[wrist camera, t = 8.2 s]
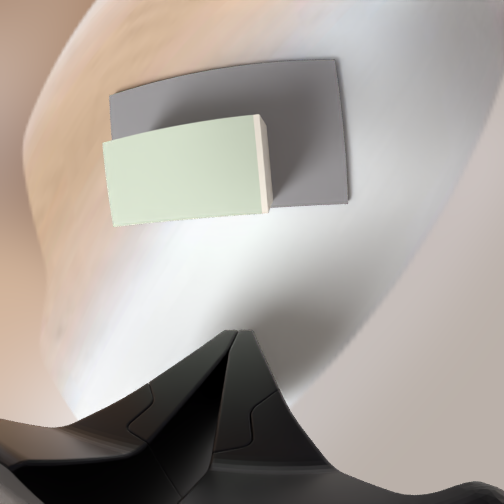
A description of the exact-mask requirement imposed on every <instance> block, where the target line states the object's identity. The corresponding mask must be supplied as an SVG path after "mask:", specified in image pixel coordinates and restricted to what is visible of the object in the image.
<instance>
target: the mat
mask: <svg viewBox="0 0 504 504" xmlns="http://www.w3.org/2000/svg"><path fill="white" fill-rule="evenodd" d="M109 101H110V120H111V135H112V140H116V139H119V138H123V137H127V136H131V135H136V134H140V133H144V132H149V131H153V130H158V129H163V128H168V127H173V126H178V125H184V124H190V123H196V122H202V121H208V120H215V119H222V118H230V117H238V116H246V115H256V114H259V115H260V116H261V118H262V119H263V121H264V122H265V124H266V125H267V136H268V146H269V157H270V169H271V180H272V192H273V202H272V204H271V207H270V208H275V207H292V206H310V205H331V204H348V187H347V169H346V154H345V141H344V130H343V120H342V110H341V102H340V94H339V86H338V79H337V72H336V65H335V60H297V61H280V62H268V63H258V64H249V65H241V66H234V67H227V68H220V69H214V70H208V71H203V72H198V73H193V74H188V75H183V76H178V77H174V78H170V79H166V80H162V81H158V82H154V83H150V84H146V85H143V86H139V87H136V88H132V89H129V90H126V91H122V92H119V93H116V94H113V95H110V96H109Z"/></svg>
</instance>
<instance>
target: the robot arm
mask: <svg viewBox="0 0 504 504" xmlns="http://www.w3.org/2000/svg"><path fill="white" fill-rule="evenodd" d="M0 504H504V491H503V490H501V489H499V488H498V487H495V486H492V485H489V484H486V483H483V482H476V481H473V482H468V483H463V484H460V485H457V486H454V487H451V488H448V489H445V490H442V491H439V492H435V493H430V494H424V495H404V494H399V493H395V492H392V491H389V490H386V489H383V488H380V487H377V486H375V485H372V484H370V483H367V482H364V481H362V480H359V479H357V478H354V477H352V476H349V475H347V474H344V473H342V472H340V471H339V470H337V469H336V468H335V467H334V466H332V465H331V464H330V463H329V462H328V461H327V459H326V458H325V457H324V456H323V455H322V453H321V452H320V451H319V449H318V448H317V447H316V446H315V444H314V443H313V442H312V440H311V439H310V438H309V437H308V435H307V434H306V433H305V431H304V430H303V429H302V427H301V426H300V425H299V423H298V422H297V420H296V419H295V417H294V416H293V414H292V413H291V411H290V409H289V407H288V406H287V404H286V402H285V400H284V398H283V396H282V394H281V392H280V390H279V387H278V385H277V383H276V381H275V379H274V377H273V374H272V372H271V370H270V368H269V366H268V363H267V361H266V359H265V357H264V354H263V352H262V350H261V348H260V346H259V343H258V341H257V339H256V337H255V334H254V332H253V331H252V330H240V331H239V332H238V331H237V330H224V331H223V332H221V333H220V334H219V335H217V336H216V337H214V338H213V339H212V340H210V341H209V342H207V343H206V344H204V345H203V346H202V347H200V348H199V349H197V350H196V351H194V352H193V353H191V354H190V355H189V356H187V357H186V358H184V359H183V360H181V361H180V362H178V363H177V364H175V365H174V366H172V367H171V368H170V369H168V370H167V371H165V372H164V373H162V374H161V375H159V376H158V377H156V378H155V379H153V380H152V381H150V382H149V384H148V383H147V384H145V385H144V386H142V387H141V388H139V389H138V390H136V391H134V392H133V393H131V394H129V395H128V396H126V397H125V398H123V399H121V400H119V401H117V402H115V403H113V404H112V405H110V406H108V407H106V408H104V409H102V410H100V411H98V412H96V413H94V414H92V415H90V416H87V417H85V418H83V419H81V420H79V421H77V422H75V423H73V424H70V425H67V426H64V427H57V428H48V427H41V426H35V425H29V424H24V423H18V422H14V421H9V420H4V419H0Z"/></svg>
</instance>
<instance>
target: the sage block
mask: <svg viewBox="0 0 504 504" xmlns="http://www.w3.org/2000/svg"><path fill="white" fill-rule="evenodd" d="M103 154H104V164H105V173H106V181H107V189H108V196H109V203H110V209H111V215H112V221H113V227H118V226H127V225H136V224H145V223H155V222H165V221H176V220H187V219H198V218H210V217H223V216H236V215H250V214H265V213H268V212H269V210H270V207H271V204H272V202H273V192H272V180H271V169H270V157H269V146H268V136H267V125H266V124H265V122H264V121H263V119H262V118H261V116H260V115H259V114H256V115H246V116H238V117H230V118H222V119H215V120H208V121H202V122H196V123H190V124H184V125H178V126H173V127H168V128H163V129H158V130H153V131H149V132H144V133H140V134H136V135H131V136H127V137H123V138H119V139H116V140H112V141H108V142H104V143H103Z"/></svg>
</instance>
